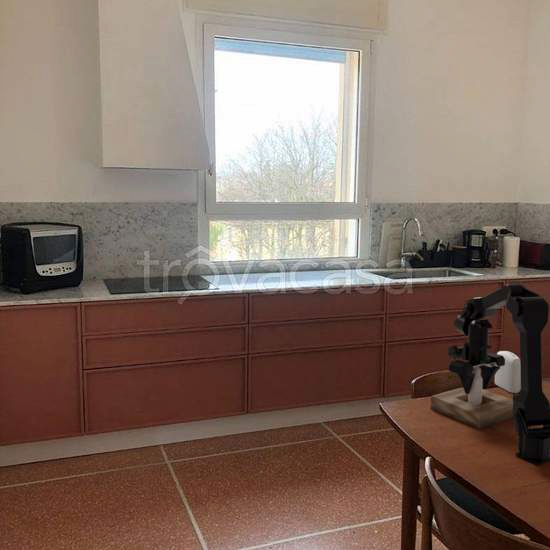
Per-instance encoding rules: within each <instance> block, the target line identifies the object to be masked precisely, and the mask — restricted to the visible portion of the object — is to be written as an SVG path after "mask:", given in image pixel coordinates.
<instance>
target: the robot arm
mask: <svg viewBox="0 0 550 550" xmlns="http://www.w3.org/2000/svg"><path fill="white" fill-rule="evenodd" d="M504 306H505V308H506V309H507V311H508V312H509V313H510V314H511V318H512V323H513V324H514V326H515V327H516V329H517V330H518V332H519V350H520V351H519V352H520V353H519V356H520V357H519V359H520V365H521V386H520V391H519V392H518V393H517V394H513V397H512V399H513V418H512V419H513V426H514V431H515V433H516V435H517V436H518V445H517V446H518V448H517V450H518V452H515V457H518V458H521V459H523V460H525V461H528V462H530V463H532V464H535V465H538V466H539V465H541V464H542V465H543V464H544V463H547V462H550V400H549V399H548V397H547V395H546V394H545V393H544V391H543V359H542V358H543V357H542V356H543V355H542V354H543V353H542V352H543V351H542V350H543V349H542V348H543V347H542V345H543V344H542V332H544V329H545V327H547V325H548V322H549V316H550V315H549V314H550V305H549V302H548V301H547V300H545V298H544V297H543V296H541V295H540V294H539V293H537V292H535V291H532V290H531V289H528V288H526V287H525V286H524V285H523V284H520V283H507V284H503V285H502V286H501V287H500V288H498V289H496V290H494V291H492V292H490V293H489V294H486V295H485V296H482V297H481V296H480V297H470V298H468V299H467V300H466V303H465V305H464V306H463V308H462V310H461V311H460V312H459V315H458V316H456V318H455V319H454V321H453V326H454V329H455V330H456V331H457V332H459V333H461V334H463V335H465V336H467V342H464V343H463V346H460V347H458V346H457V345H451V346H448V350H447V354H448V357H449V358H452V361H450V362H449V363H448V365H447V366H448V369H447V370H448V372H451V373H454V374H457V376H458V377H459V379H460V381H461V383H462V387H463V388H464V391H465V393H466V394H469V393H470V390H471V387H472V383H473V380H474V377H475V374H473V373H472V372H473V368H474V367H478V368H480V369H481V377H482V379H483V384H482V389H484V390H487V388H488V386H489V385H490V383H491V382H492V380H493V378H495V374H496V372H497V371H498V370H499V369H500V366H504V365H505V359H504V357H503V356H502V355H498V354H497V353H494V352H489V350H490V349H492V344H490V343H489V338H490V336H489V335H490V334H489V333H490V329H493V325H492V323H491V322H490V321H489V319H488V318H492V317H493V316H495V314H497V310H498V309H500V308H501V307H504ZM456 359H457V360H456ZM496 365H497V366H496Z"/></svg>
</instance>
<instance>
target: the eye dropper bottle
mask: <svg viewBox="0 0 550 550" xmlns="http://www.w3.org/2000/svg"><path fill="white" fill-rule="evenodd" d="M472 373H473V374H475V377H474V380H473V383H472V387H471V390H470V393H469V394H468V403H470V404H473V405H475V406H478V405H480V404H481V402H482V384H483V379H482V371H481V369H480V367H479V366H478V367H474V368H473V372H472Z"/></svg>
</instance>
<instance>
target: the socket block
mask: <svg viewBox="0 0 550 550" xmlns="http://www.w3.org/2000/svg"><path fill="white" fill-rule="evenodd" d="M431 408H432V409H431ZM430 409H431V410H433V409H435V410H437V411H436V412H438V411H439V412H438V413H440V412H441V414H443V413H444V414H443V415H445V414H446V415H445V416H447V415H448V417H450V418H452V417H453V418H452V419H455V420H457V421H460V422H461V423H465V424H467V425H470V426H472V427H475V428H477V429H483V428H485V427H489V426H492V425H495V424H498V423H501V422H504V421H507V420H509V419H514V418H513V398H510V397H506V396H504V395H500V394H498V393H495V392H492V391H489V390H487V389H482V402H481V404H480V405H478V406H475V405H473V404H470V403H468V394H466V393H465V391H464V388H463V386H462V387H460V388H455V389H451V390H447V391H444V392H441V393H436V394H433V395H431V396H430ZM435 410H434V411H435Z"/></svg>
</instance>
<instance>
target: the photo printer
mask: <svg viewBox="0 0 550 550" xmlns="http://www.w3.org/2000/svg"><path fill="white" fill-rule="evenodd" d="M496 354H498V355H502V356H503V357H504V359H505V365H504V366H500V369H499V370H498V371H497V372H496V374H495V375H494V384H495V385H496V386H497V387H499V388H501V389H503V390H504V391H507V392H509V393H512V394H518V393H519V392H520V390H521V365H520V357H519V356H518V355H516V354H515V353H513V352H511V351H507V350H499V351H498V352H497V353H496ZM496 366H497V365H496Z"/></svg>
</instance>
